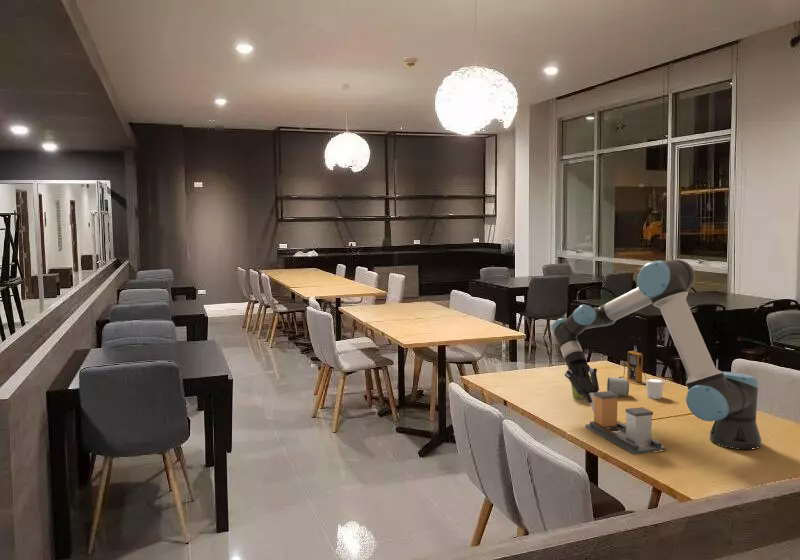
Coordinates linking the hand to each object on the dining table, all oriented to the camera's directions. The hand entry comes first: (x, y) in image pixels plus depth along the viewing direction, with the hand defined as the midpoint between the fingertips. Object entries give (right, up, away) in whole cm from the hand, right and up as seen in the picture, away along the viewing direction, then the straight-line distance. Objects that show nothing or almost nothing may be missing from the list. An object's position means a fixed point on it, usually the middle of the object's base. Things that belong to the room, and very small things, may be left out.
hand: (596, 410), depth 238 cm
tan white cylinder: (+34, -2, +35) cm, 49 cm away
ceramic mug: (+20, -1, +39) cm, 44 cm away
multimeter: (+32, +1, +60) cm, 68 cm away
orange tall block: (+2, -4, -5) cm, 6 cm away
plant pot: (+4, -2, +35) cm, 36 cm away
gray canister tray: (+5, -7, -15) cm, 17 cm away
